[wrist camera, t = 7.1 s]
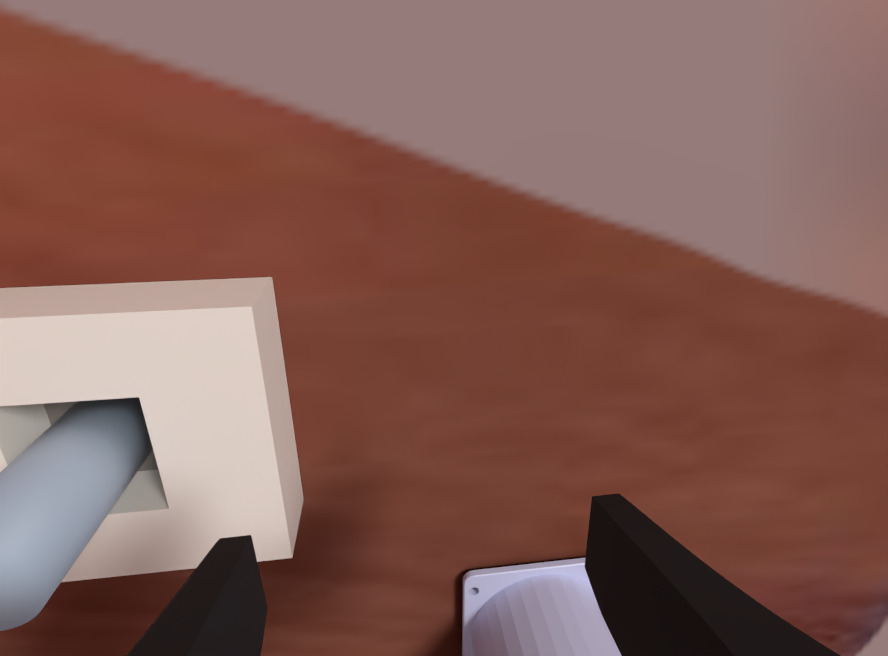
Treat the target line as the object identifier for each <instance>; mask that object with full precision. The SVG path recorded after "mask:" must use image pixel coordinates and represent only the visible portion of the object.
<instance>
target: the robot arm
mask: <svg viewBox="0 0 888 656" xmlns="http://www.w3.org/2000/svg"><path fill="white" fill-rule="evenodd" d="M474 587H475V588H474ZM266 613H267V604H266V600H265V595H264V591H263V586H262V582H261V577H260V573H259V568H258V564H257V559H256V555H255V550H254V546H253V541H252V537H251V535H246V536H237V537H228V538H220V539H219V540H218V541H217V542H216V543H215V544H214V546H213V547H212V548H211V550H210V551H209V552H208V554H207V555H206V556H205V557H204V559H203V560H202V561H201V563H200V564H199V565H198V567H197V568H196V569H195V571H194V572H193V573H192V575H191V576H190V577H189V578H188V580H187V581H186V582H185V584H184V585H183V586H182V588H181V589H180V590H179V591H178V593H177V594H176V595H175V597H174V598H173V599H172V600H171V602H170V603H169V604H168V605H167V607H166V608H165V609H164V610H163V612H162V613H161V614H160V615H159V617H158V618H157V619H156V620H155V622H154V623H153V624H152V625H151V626H150V628H149V629H148V630H147V631H146V633H145V634H144V635H143V636H142V638H141V639H140V640H139V641H138V642H137V644H136V645H135V646H134V647H133V648H132V650H131V651H130V652H129V653H128V654H127V655H126V656H260V654H261V648H262V642H263V635H264V628H265V621H266ZM462 656H840V655H839V654H837V653H835V652H834V651H832V650H830V649H829V648H827V647H825V646H824V645H822V644H821V643H819V642H818V641H816V640H814V639H813V638H811V637H810V636H808V635H807V634H805V633H803V632H802V631H800V630H799V629H797V628H796V627H794V626H792V625H791V624H789V623H788V622H786V621H785V620H783V619H782V618H780V617H779V616H777V615H776V614H774V613H773V612H771V611H770V610H768V609H767V608H765V607H764V606H763V605H761V604H760V603H758V602H757V601H756V600H754V599H753V598H751V597H750V596H749V595H747V594H746V593H744V592H743V591H742V590H740V589H739V588H737V587H736V586H735V585H733V584H732V583H730V582H729V581H728V580H726V579H725V578H724V577H722V576H721V575H720V574H718V573H717V572H716V571H714V570H713V569H712V568H711V567H709V566H708V565H707V564H705V563H704V562H703V561H701V560H700V559H699V558H698V557H696V556H695V555H694V554H693V553H691V552H690V551H689V550H687V549H686V548H685V547H684V546H682V545H681V544H680V543H679V542H677V541H676V540H675V539H674V538H673V537H671V536H670V535H669V534H668V533H666V532H665V531H664V530H663V529H662V528H660V527H659V526H658V525H657V524H655V523H654V522H653V521H652V520H651V519H649V518H648V517H647V516H646V515H645V514H643V513H642V512H641V511H640V510H639V509H637V508H636V507H635V506H634V505H632V504H631V503H630V502H629V501H628V500H626V499H625V498H624V497H623V496H621V495H620V494H610V495H602V496H593V497H592V503H591V512H590V521H589V530H588V539H587V549H586V557H585V558H576V559H567V560H559V561H550V562H541V563H532V564H523V565H514V566H506V567H497V568H488V569H479V570H472V571H469V572H467V573H466V574H465V575H464V576H463V594H462Z"/></svg>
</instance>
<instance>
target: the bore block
mask: <svg viewBox="0 0 888 656" xmlns="http://www.w3.org/2000/svg"><path fill="white" fill-rule="evenodd" d="M135 397H139V399H140V403H141V407H142V410H143V414H144V418H145V421H146V425H147V429H148V432H149V436H150V440H151V443H152V447H153V450H152V451H151V453H150V454H149V456H148V457H147V458H146V460H145V461H144V463H143V464H142V466H141V467H140V469H139V470H138V471H137V473H136V474H135V476H134V477H133V479H132V480H131V482H130V483H129V484H128V486H127V487H126V489H125V490H124V492H123V493H122V495H121V496H120V497H119V499H118V500H117V502H116V503H115V505H114V506H113V508H112V509H111V510H110V512H109V513H108V515H107V516H106V518H105V519H104V521H103V522H102V523H101V525H100V526H99V528H98V529H97V531H96V532H95V534H94V535H93V536H92V538H91V539H90V541H89V542H88V544H87V545H86V547H85V548H84V549H83V551H82V552H81V554H80V555H79V557H78V558H77V560H76V561H75V562H74V564H73V565H72V567H71V568H70V570H69V571H68V573H67V574H66V575H65V577H64V578H63V580H62V581H61V582H69V581H79V580H88V579H98V578H107V577H117V576H126V575H136V574H145V573H155V572H164V571H174V570H183V569H192V568H197V567H198V565H199V564H200V563H201V561H202V560H203V559H204V557H205V556H206V555H207V554H208V552H209V551H210V550H211V548H212V547H213V546H214V544H215V543H216V542H217V541H218V540H219V539H220V538H228V537H237V536H246V535H251V537H252V541H253V546H254V550H255V555H256V559H257V562H259V561H268V560H278V559H287V558H292V557H293V552H294V547H295V541H296V536H297V531H298V526H299V521H300V515H301V510H302V505H303V500H304V498H303V491H302V484H301V477H300V470H299V463H298V456H297V449H296V442H295V435H294V428H293V421H292V414H291V407H290V400H289V393H288V386H287V379H286V371H285V364H284V357H283V350H282V343H281V336H280V329H279V322H278V315H277V308H276V301H275V294H274V287H273V280H272V277H261V278H237V279H212V280H188V281H164V282H139V283H115V284H90V285H66V286H42V287H17V288H0V472H1V471H2V470H3V469H4V468H5V467H7V466H8V465H9V464H10V463H11V462H12V461H13V460H14V459H15V458H16V457H18V456H19V455H20V454H21V453H22V452H23V451H24V450H25V449H26V448H27V447H28V446H30V445H31V444H32V443H33V442H34V441H35V440H36V439H37V438H38V437H39V436H40V435H42V434H43V433H44V432H45V431H46V430H47V429H48V428H49V427H50V426H51V425H52V424H54V423H55V422H56V421H57V420H58V419H59V418H60V417H61V416H62V415H63V414H64V413H66V412H67V411H68V410H69V409H70V408H71V407H72V406H73V405H74V404H75V403H76V402H78V401H90V400H105V399H120V398H135Z"/></svg>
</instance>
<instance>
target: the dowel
mask: <svg viewBox="0 0 888 656" xmlns="http://www.w3.org/2000/svg"><path fill="white" fill-rule="evenodd" d="M152 450H153V447H152V443H151V440H150V436H149V432H148V429H147V425H146V421H145V418H144V414H143V410H142V407H141V403H140V399H139V397H135V398H120V399H105V400H90V401H78V402H76V403H75V404H74V405H73V406H72V407H71V408H70V409H69V410H68V411H67V412H66V413H64V414H63V415H62V416H61V417H60V418H59V419H58V420H57V421H56V422H55V423H54V424H52V425H51V426H50V427H49V428H48V429H47V430H46V431H45V432H44V433H43V434H42V435H40V436H39V437H38V438H37V439H36V440H35V441H34V442H33V443H32V444H31V445H30V446H28V447H27V448H26V449H25V450H24V451H23V452H22V453H21V454H20V455H19V456H18V457H16V458H15V459H14V460H13V461H12V462H11V463H10V464H9V465H8V466H7V467H5V468H4V469H3V470H2V471H1V472H0V631H3V630H8V629H12V628H15V627H18V626H21V625H23V624H25V623H27V622H29V621H30V620H32V619H33V618H34V617H36V616H37V615H38V614H39V613H40V611H41V610H42V609H43V607H44V606H45V604H46V603H47V601H48V600H49V599H50V597H51V596H52V594H53V593H54V591H55V590H56V588H57V587H58V586H59V584H60V583H61V581H62V580H63V578H64V577H65V575H66V574H67V573H68V571H69V570H70V568H71V567H72V565H73V564H74V562H75V561H76V560H77V558H78V557H79V555H80V554H81V552H82V551H83V549H84V548H85V547H86V545H87V544H88V542H89V541H90V539H91V538H92V536H93V535H94V534H95V532H96V531H97V529H98V528H99V526H100V525H101V523H102V522H103V521H104V519H105V518H106V516H107V515H108V513H109V512H110V510H111V509H112V508H113V506H114V505H115V503H116V502H117V500H118V499H119V497H120V496H121V495H122V493H123V492H124V490H125V489H126V487H127V486H128V484H129V483H130V482H131V480H132V479H133V477H134V476H135V474H136V473H137V471H138V470H139V469H140V467H141V466H142V464H143V463H144V461H145V460H146V458H147V457H148V456H149V454H150V453H151V451H152Z"/></svg>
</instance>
